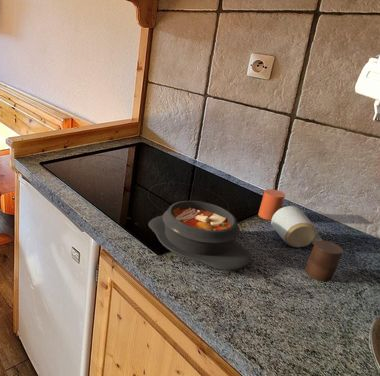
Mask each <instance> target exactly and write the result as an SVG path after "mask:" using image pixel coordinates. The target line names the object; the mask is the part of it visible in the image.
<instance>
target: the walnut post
mask: <svg viewBox="0 0 380 376" xmlns="http://www.w3.org/2000/svg"><path fill="white" fill-rule="evenodd" d="M343 252H344V249H343V248H342V247H341V246H340V245H338V244H336V243H334V242H331V241H329V240H323V241H316V242H315V244H314V245H313V247H312V249H311V252H310V255H309V258H308V260H307V263H306V266H305V268H304V269H305V270H304V272H305V274H306V275H307V276H308V277H310V278H311V279H314V280H316V281H318V282H324V283H326V282H332V280H333V277H334V275H335V273H336V271H337V268H338V265H339V263H340V260H341V258H342V255H343Z"/></svg>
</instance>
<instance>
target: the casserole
mask: <svg viewBox="0 0 380 376" xmlns="http://www.w3.org/2000/svg"><path fill="white" fill-rule="evenodd" d="M147 225H148V228H149V229H150V230H151V231H152V232H153V233H154V234H155V236H156V238H157V239H158V241H159V243H161V245H162V246H163V247H164V248H165V249H167V250H169V251H170V252H172V253H174V254H176V255H178V256H180V257H182V258H185V259H189V260H193V261H196V262H200V263H202V264H205V265H207V266H209V267H212V268H215V269H219V270H223V271H224V270H227V271H228V270H229V271H231V270H238V269H241V268H244V267H246V266H248V265H249V264H250V263H251V261H252V260H253V255H252V253H251V251H249V249H247V248H246V247H245V246H243V245H242V244H241V243H239V241H238V240H237V238H238V237H239V236H240V233H241V229H240V226H239V225H238V220H237V218H236V216H235V215H234V214H233V213H231V211H229V210H228V209H226V208H224V207H222V206H219V205H216V204H213V203H209V202H205V201H199V200H182V201H178V202H175V203H172V204H171V205H170V206H169V207H168V208H167V210H166V211H164V212H163V214H162V215H158V216H156V217H153V218H152V219H151V220H149V222H148V224H147Z"/></svg>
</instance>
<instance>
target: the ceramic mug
mask: <svg viewBox="0 0 380 376" xmlns="http://www.w3.org/2000/svg"><path fill="white" fill-rule="evenodd" d="M270 221H271V226H272V228H273V230H274V231H276V233H277V234H278V235H279V237H280V238H281V239H282V240H283V241H284V243H285V244H287V245H288V246H290V247H291V248H304V247H307V246H309V245H310V244H311V245H313V246H314V244H315V242H316V241H324V240H323V239H322V237H321V236H320V235H319V234H318V233H317V229H316V227H315V225H314V224H313V222H312V221H311V220H310V219H309V218H308V216H307V215H306V214H305V212H304V211H303V210H302V209H301V208H299V207H297V206H293V205H288V206H282V208H281V209H279V210H278V211H276V212H275V214H274V215H273V217H272V220H270Z"/></svg>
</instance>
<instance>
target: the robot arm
mask: <svg viewBox="0 0 380 376" xmlns="http://www.w3.org/2000/svg"><path fill="white" fill-rule="evenodd" d="M354 92H355V93H356V94H358V95H361V96H363V97H366V98H370V99H373V100H374V104H373V107H374V114H373V115H374V116H373V117H372V121H373V122H375V123H378V124H380V53H375V54H374V55H373V56H371V57H370V58H369V59H368V62H366V64H365V65H364V66H363V68H362V69H361V72H360V73H359V76H358V78H357V80H356V83H355V85H354Z"/></svg>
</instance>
